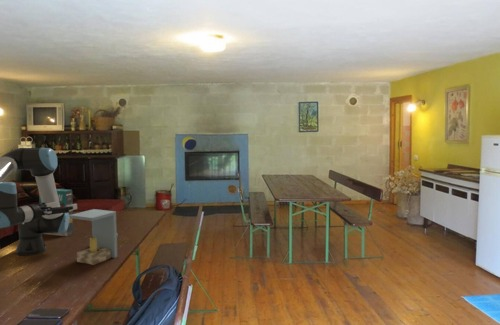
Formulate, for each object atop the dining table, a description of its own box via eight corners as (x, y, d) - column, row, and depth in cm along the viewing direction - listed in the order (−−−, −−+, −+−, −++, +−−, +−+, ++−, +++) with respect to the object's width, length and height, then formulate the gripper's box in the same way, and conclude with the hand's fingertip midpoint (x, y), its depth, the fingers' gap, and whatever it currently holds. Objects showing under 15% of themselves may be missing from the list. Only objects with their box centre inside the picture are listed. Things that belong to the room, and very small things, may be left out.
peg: (88, 260, 212) (88, 238, 211) (93, 258, 215) (93, 237, 214) (93, 261, 210) (93, 239, 209) (98, 259, 213) (98, 237, 212)
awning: (71, 262, 209) (69, 215, 206) (95, 253, 224) (94, 209, 222) (93, 266, 202) (92, 218, 200) (117, 256, 218) (116, 211, 215)
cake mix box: (40, 233, 265) (38, 189, 263) (47, 231, 271) (46, 188, 268) (67, 236, 259) (65, 191, 256) (73, 233, 265) (72, 189, 262)
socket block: (77, 261, 210) (76, 252, 209) (94, 255, 221) (93, 246, 220) (93, 264, 205) (93, 255, 204) (110, 257, 216) (110, 249, 215)
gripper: (10, 218, 186) (49, 210, 205) (47, 224, 176) (85, 214, 195) (10, 203, 185) (49, 196, 205) (47, 207, 175) (84, 199, 194)
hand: (66, 205), depth 200 cm, fingers open, 13 cm apart
